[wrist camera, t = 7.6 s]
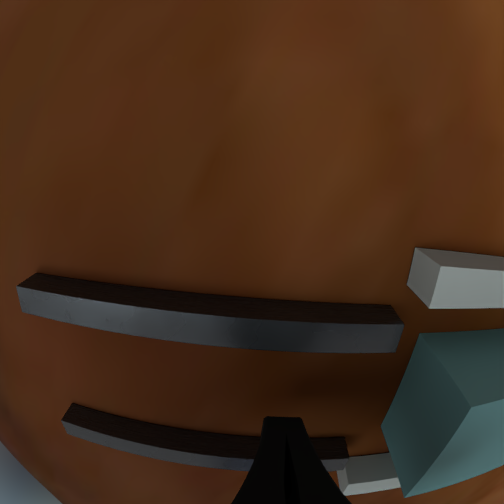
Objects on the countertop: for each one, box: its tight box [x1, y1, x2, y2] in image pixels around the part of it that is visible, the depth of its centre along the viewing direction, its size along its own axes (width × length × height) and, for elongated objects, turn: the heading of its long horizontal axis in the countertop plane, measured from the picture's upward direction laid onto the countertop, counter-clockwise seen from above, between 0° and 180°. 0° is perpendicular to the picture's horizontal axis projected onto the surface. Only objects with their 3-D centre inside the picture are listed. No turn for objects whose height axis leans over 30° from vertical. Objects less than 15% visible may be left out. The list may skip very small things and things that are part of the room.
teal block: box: [381, 328, 504, 498], centre depth 10 cm, size 6×9×5 cm, turn 86°
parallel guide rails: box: [16, 273, 404, 471], centre depth 12 cm, size 9×15×2 cm, turn 86°
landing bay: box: [337, 247, 504, 496], centre depth 12 cm, size 14×14×2 cm
